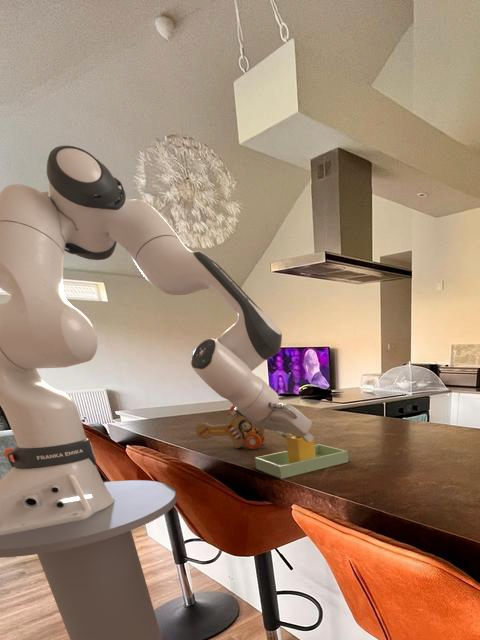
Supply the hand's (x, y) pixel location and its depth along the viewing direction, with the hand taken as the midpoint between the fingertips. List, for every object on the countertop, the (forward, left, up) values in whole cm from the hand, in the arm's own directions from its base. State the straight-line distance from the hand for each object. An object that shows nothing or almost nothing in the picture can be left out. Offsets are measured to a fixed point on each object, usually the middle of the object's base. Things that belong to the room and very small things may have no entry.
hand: (299, 437), depth 106 cm
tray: (0, 0, -7) cm, 7 cm away
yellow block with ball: (+1, +1, -7) cm, 7 cm away
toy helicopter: (-2, +35, -8) cm, 36 cm away
